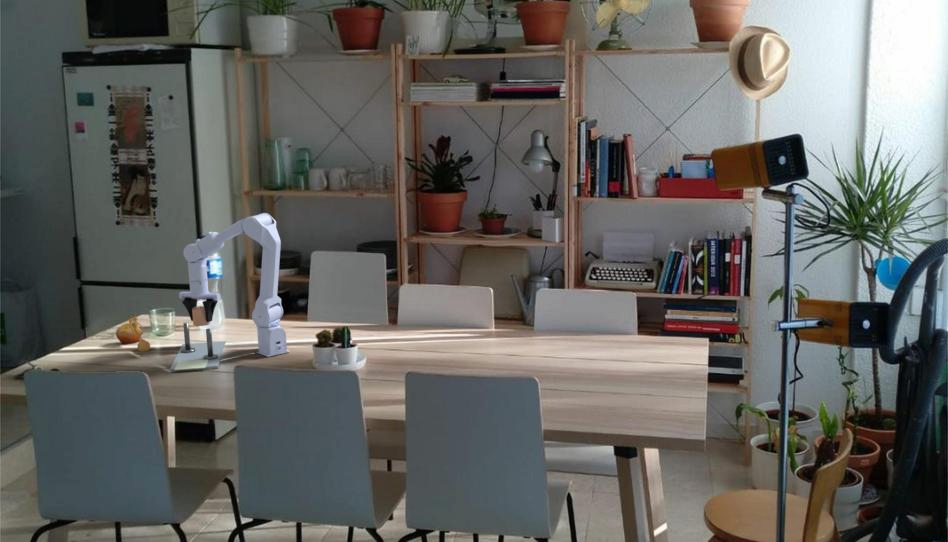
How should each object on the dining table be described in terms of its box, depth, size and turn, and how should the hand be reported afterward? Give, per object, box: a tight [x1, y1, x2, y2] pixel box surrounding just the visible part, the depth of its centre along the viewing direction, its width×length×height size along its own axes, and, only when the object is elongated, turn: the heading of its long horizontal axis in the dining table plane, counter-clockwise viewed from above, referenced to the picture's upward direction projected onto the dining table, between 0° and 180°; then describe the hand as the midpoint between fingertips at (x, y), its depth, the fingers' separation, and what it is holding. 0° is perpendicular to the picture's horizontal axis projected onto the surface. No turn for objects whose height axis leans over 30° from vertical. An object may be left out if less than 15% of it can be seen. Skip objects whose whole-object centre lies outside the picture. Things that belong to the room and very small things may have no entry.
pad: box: [174, 359, 208, 370], centre depth 310 cm, size 9×9×1 cm
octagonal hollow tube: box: [192, 305, 211, 327], centre depth 332 cm, size 5×5×6 cm
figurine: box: [128, 316, 151, 352], centre depth 328 cm, size 8×6×12 cm
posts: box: [181, 322, 218, 360], centre depth 321 cm, size 17×4×9 cm, turn 47°
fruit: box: [115, 322, 142, 346], centre depth 341 cm, size 8×8×8 cm
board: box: [169, 340, 227, 373], centre depth 322 cm, size 30×14×1 cm, turn 9°
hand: (201, 320), depth 332 cm, fingers closed on octagonal hollow tube, 5 cm apart
